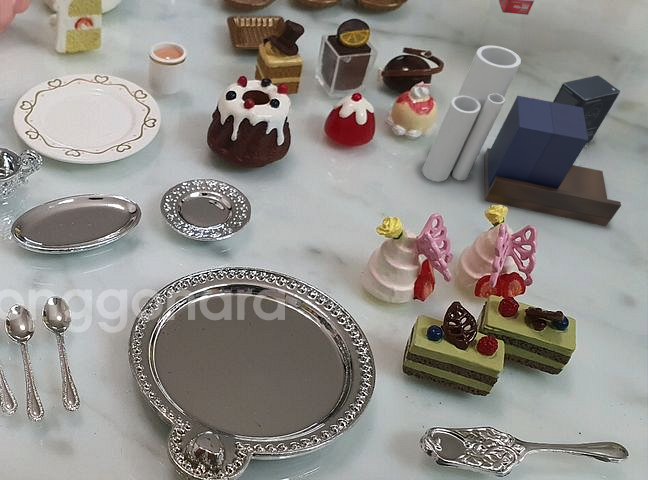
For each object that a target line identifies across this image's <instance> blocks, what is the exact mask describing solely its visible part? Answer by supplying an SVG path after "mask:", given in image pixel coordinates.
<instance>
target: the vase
mask: <svg viewBox="0 0 648 480" xmlns="http://www.w3.org/2000/svg"><path fill="white" fill-rule="evenodd" d="M521 61H522V59H521V57H520V56H519V55H518V54H517V53H516V52H515V51H513V50H511V49H509V48H506V47H503V46H499V45H483V46H480V47H479V48H478V49H477V50H476V52H475V55H474V57H473V59H472V62H471V64H470V66H469V69H468V71H467V72H466V76H465V77H464V80H463V82H462V85H461V87H460V89H459V92H458V94H457V96H454V97H453V98H452V99H451V101H450V103H449V105H448V108H447V111H446V112H445V115H444V118H443V120H442V122H441V124H440V126H439V129H438V131H437V134H436V136H435V138H434V141H433V144H432V146H431V148H430V150H429V153H428V155H427V157H426V160H425V162H424V164H423V166H422V169H421V173H422V175H423V176H424V177H425V178H426V179H428V180H429V181H433V182H438V183H439V182H444V181H446V180H448V178H449V176H450V174H451V176H452V177H453V178H454V179H455V180H458V181H465V180H467V178H468V177H469V175H470V173H471V171H472V168H473V166H474V165H475V162H476V161H477V159H478V156H479V154H480V153H481V150H482V149H483V147H484V144H485V143H486V141H487V138H488V137H489V134H490V132H491V131H492V128H493V126H494V124H495V122H496V120H497V118H498V116H499V114H500V112H501V110H502V107H503V106H504V104H505V101H506V93H507V92H508V90H509V88H510V86H511V84H512V81H513V80H514V78H515V77H516V73H517V72H518V69H519V67H520V66H521Z"/></svg>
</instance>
